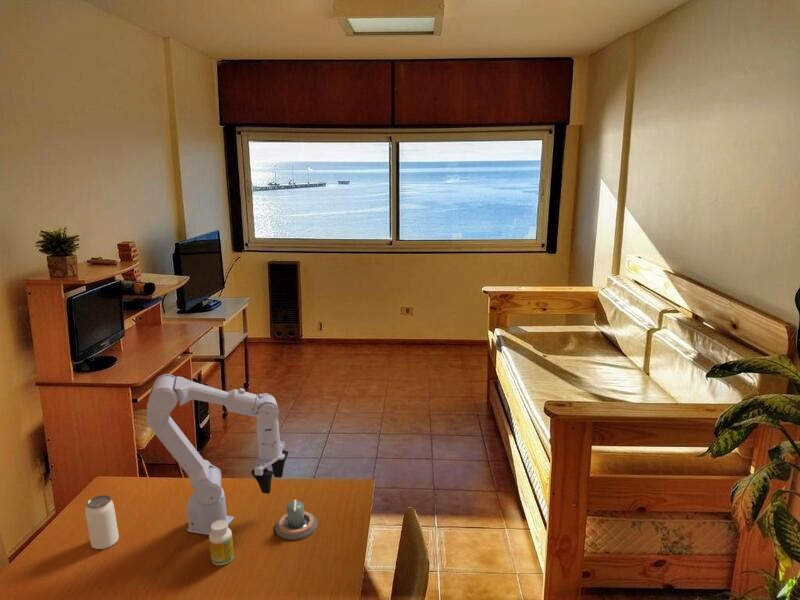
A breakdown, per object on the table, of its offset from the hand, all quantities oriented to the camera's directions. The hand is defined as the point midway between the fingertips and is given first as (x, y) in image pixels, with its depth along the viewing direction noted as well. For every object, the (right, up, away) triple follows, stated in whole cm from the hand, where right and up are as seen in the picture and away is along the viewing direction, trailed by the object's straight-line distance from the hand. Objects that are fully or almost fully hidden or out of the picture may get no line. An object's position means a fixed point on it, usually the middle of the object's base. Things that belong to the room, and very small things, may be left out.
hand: (272, 484), depth 157 cm
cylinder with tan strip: (+7, -10, -3) cm, 12 cm away
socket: (+7, -10, -3) cm, 13 cm away
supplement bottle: (-9, -14, -14) cm, 22 cm away
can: (-41, -13, -8) cm, 44 cm away
